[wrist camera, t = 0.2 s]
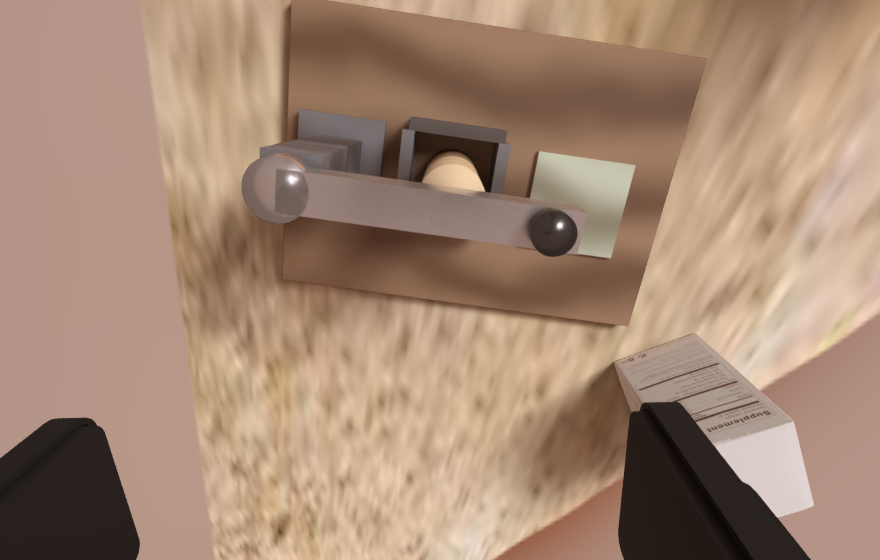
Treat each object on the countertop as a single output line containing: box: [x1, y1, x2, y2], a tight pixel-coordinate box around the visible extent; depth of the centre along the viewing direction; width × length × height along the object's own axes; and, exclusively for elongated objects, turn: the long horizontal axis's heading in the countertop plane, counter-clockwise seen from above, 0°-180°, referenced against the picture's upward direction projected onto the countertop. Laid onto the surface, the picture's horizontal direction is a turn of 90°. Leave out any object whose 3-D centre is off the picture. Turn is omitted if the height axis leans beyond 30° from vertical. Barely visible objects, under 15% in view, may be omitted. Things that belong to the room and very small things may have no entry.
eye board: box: [260, 0, 707, 326], centre depth 31 cm, size 20×28×14 cm
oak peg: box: [422, 149, 485, 192], centre depth 31 cm, size 4×4×11 cm
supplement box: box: [614, 334, 814, 518], centre depth 37 cm, size 7×7×13 cm
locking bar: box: [242, 153, 587, 257], centre depth 22 cm, size 16×3×3 cm, turn 82°
